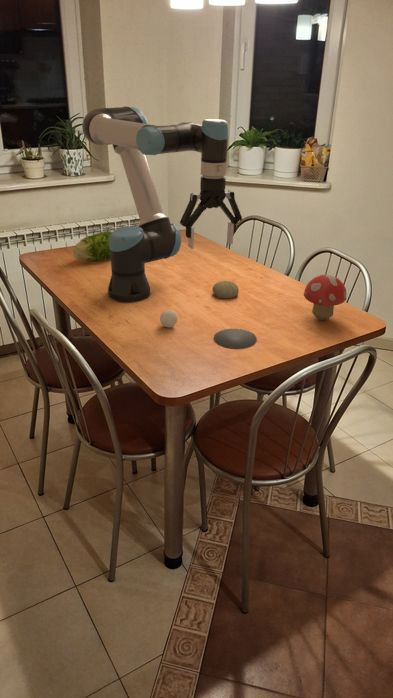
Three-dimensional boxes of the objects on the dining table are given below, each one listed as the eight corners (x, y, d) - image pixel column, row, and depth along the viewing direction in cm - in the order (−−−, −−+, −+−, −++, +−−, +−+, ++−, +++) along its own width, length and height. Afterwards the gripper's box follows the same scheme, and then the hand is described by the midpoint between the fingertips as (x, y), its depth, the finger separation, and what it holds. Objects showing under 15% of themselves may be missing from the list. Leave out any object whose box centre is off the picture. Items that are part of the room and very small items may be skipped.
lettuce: (68, 262, 221) (65, 235, 216) (111, 252, 232) (109, 227, 227) (82, 269, 213) (79, 242, 208) (125, 259, 225) (124, 233, 219)
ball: (157, 328, 166) (156, 312, 163) (164, 321, 170) (164, 306, 167) (173, 331, 164) (173, 315, 161) (180, 324, 168) (180, 308, 166)
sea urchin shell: (239, 296, 185) (223, 279, 183) (223, 309, 188) (207, 293, 187) (242, 286, 193) (227, 270, 191) (226, 299, 196) (212, 284, 195)
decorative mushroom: (350, 326, 168) (357, 282, 161) (310, 329, 166) (315, 285, 158) (332, 309, 180) (338, 267, 172) (295, 312, 177) (299, 270, 170)
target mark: (207, 344, 157) (207, 343, 157) (221, 326, 167) (221, 325, 167) (249, 352, 152) (249, 351, 152) (261, 333, 163) (261, 332, 163)
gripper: (178, 181, 150) (178, 253, 160) (256, 176, 159) (250, 244, 169) (169, 176, 156) (169, 245, 166) (244, 171, 165) (240, 237, 175)
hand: (210, 245), depth 168 cm, fingers open, 13 cm apart
